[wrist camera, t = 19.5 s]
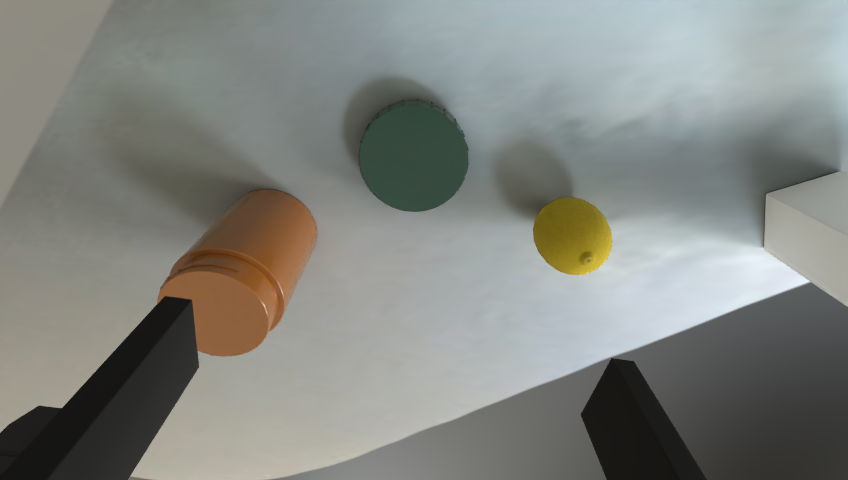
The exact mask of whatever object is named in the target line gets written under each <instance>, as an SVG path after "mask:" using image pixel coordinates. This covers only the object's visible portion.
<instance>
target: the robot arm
mask: <svg viewBox="0 0 848 480" xmlns="http://www.w3.org/2000/svg"><path fill="white" fill-rule="evenodd" d="M198 368H199V362H198V353H197V343H196V333H195V323H194V313H193V303H192V300H191V299H184V298H177V297H170V296H164V297H163V299H162V300H161V301H160V302H159V303H158V304H157V305H156V306H155V307H154V308H153V309H152V311H151V312H150V313H149V314H148V315H147V316H146V317H145V318H144V319H143V320H142V321H141V323H140V324H139V325H138V326H137V327H136V328H135V329H134V330H133V331H132V332H131V333H130V335H129V336H128V337H127V338H126V339H125V340H124V341H123V342H122V343H121V344H120V345H119V347H118V348H117V349H116V350H115V351H114V352H113V353H112V354H111V355H110V356H109V357H108V359H107V360H106V361H105V362H104V363H103V364H102V365H101V366H100V367H99V368H98V370H97V371H96V372H95V373H94V374H93V375H92V376H91V377H90V378H89V379H88V380H87V382H86V383H85V384H84V385H83V386H82V387H81V388H80V389H79V390H78V391H77V392H76V394H75V395H74V396H73V397H72V398H71V399H70V400H69V401H68V402H67V403H66V404H65V406H64V407H63V408H53V407H45V406H38V407H36V408H35V409H33V410H31V411H30V412H28V413H27V414H25V415H23V416H22V417H20V418H19V419H17V420H15V421H14V422H12V423H11V424H9V425H8V426H7V427H6V428H5V429H4V430H3V431H2V432H1V433H0V480H128V478H129V477H130V475H131V474H132V472H133V470H134V469H135V467H136V466H137V464H138V463H139V461H140V459H141V458H142V456H143V455H144V453H145V452H146V450H147V448H148V447H149V445H150V444H151V442H152V440H153V439H154V437H155V436H156V434H157V433H158V431H159V429H160V428H161V426H162V425H163V423H164V421H165V420H166V418H167V417H168V415H169V414H170V412H171V410H172V409H173V407H174V406H175V404H176V403H177V401H178V399H179V398H180V396H181V395H182V393H183V391H184V390H185V388H186V387H187V385H188V384H189V382H190V380H191V379H192V377H193V376H194V374H195V373H196V371H197V369H198ZM581 417H582V419H583V422H584V424H585V427H586V429H587V432H588V434H589V437H590V439H591V442H592V444H593V447H594V449H595V451H596V454H597V456H598V459H599V461H600V464H601V466H602V469H603V471H604V474H605V476H606V479H607V480H707V479H706V478H705V476H704V474H703V473H702V471H701V469H700V468H699V466H698V465H697V463H696V461H695V460H694V458H693V457H692V455H691V453H690V452H689V450H688V449H687V447H686V445H685V443H684V442H683V440H682V439H681V437H680V435H679V434H678V432H677V431H676V429H675V427H674V426H673V424H672V423H671V421H670V419H669V418H668V416H667V414H666V413H665V411H664V410H663V408H662V406H661V405H660V403H659V401H658V400H657V398H656V397H655V395H654V393H653V392H652V390H651V389H650V387H649V385H648V384H647V382H646V380H645V379H644V377H643V376H642V374H641V372H640V371H639V369H638V367H637V366H636V364H635V363H634V361H627V360H620V359H614V358H611V360H610V362H609V364H608V366H607V368H606V369H605V371H604V373H603V375H602V377H601V379H600V381H599V382H598V384H597V386H596V388H595V390H594V391H593V393H592V395H591V397H590V399H589V400H588V402H587V404H586V406H585V408H584V410H583V411H582V413H581Z"/></svg>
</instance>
